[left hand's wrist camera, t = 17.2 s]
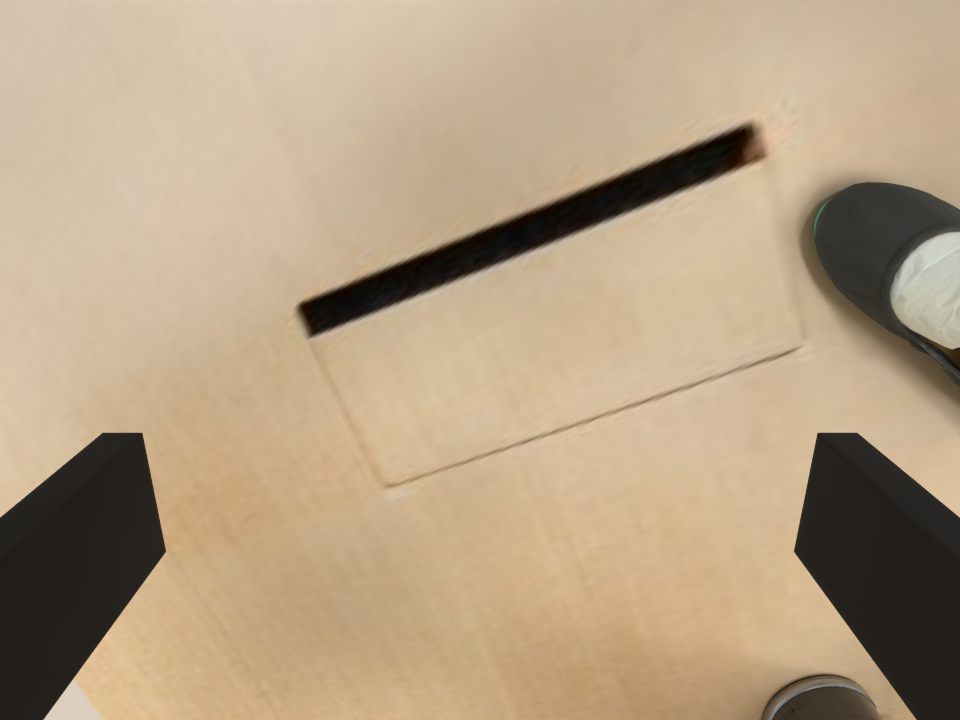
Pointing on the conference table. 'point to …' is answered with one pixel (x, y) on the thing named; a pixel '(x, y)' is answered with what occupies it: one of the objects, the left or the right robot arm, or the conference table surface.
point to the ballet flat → (897, 263)
